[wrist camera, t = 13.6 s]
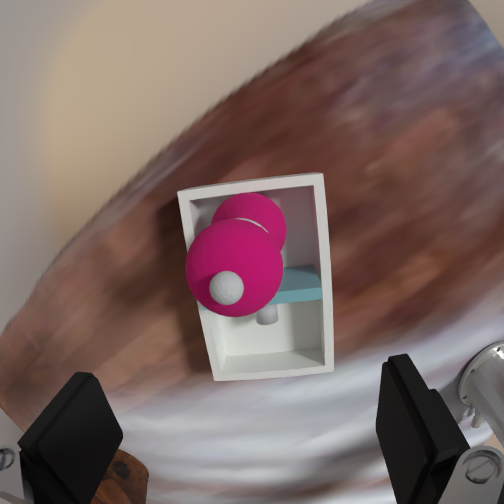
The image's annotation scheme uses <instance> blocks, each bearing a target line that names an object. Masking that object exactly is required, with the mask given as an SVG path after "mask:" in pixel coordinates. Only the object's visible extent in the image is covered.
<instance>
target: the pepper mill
mask: <svg viewBox="0 0 504 504" xmlns="http://www.w3.org/2000/svg"><path fill="white" fill-rule="evenodd" d="M286 231H287V229H286V222H285V218H284V215H283V213H282V211H281V210H280V208H279V207H278V206H277V205H276V204H275V203H274V202H273V201H272V200H271V199H269V198H268V197H266V196H263V195H261V194H257V193H251V192H246V193H239V194H236V195H233V196H231V197H229V198H228V199H226V200H225V201H224V202H223V203H222V204H221V205H220V206H219V207H218V208H217V210H216V212H215V214H214V216H213V218H212V221H211V225H210V226H208V227H206V228H205V229H203V230H202V231H201V232H200V233H199V234H198V235H197V236H196V238H195V239H194V240H193V242H192V244H191V245H190V248H189V250H188V252H187V256H186V262H185V274H186V280H187V283H188V286H189V288H190V290H191V292H192V294H193V296H194V297H195V298H196V299H197V300H198V301H199V302H200V303H201V304H202V305H203V306H204V307H205V308H207V309H208V310H210V311H212V312H214V313H216V314H218V315H222V316H226V317H242V316H247V315H250V314H253V313H255V312H257V311H258V310H260V309H262V308H263V307H265V306H266V305H267V304H268V303H269V302H270V301H271V300H272V299H273V297H274V296H275V295H276V293H277V291H278V289H279V287H280V284H281V281H282V277H283V260H282V255H281V252H280V251H281V250H282V248H283V245H284V243H285V239H286Z"/></svg>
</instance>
